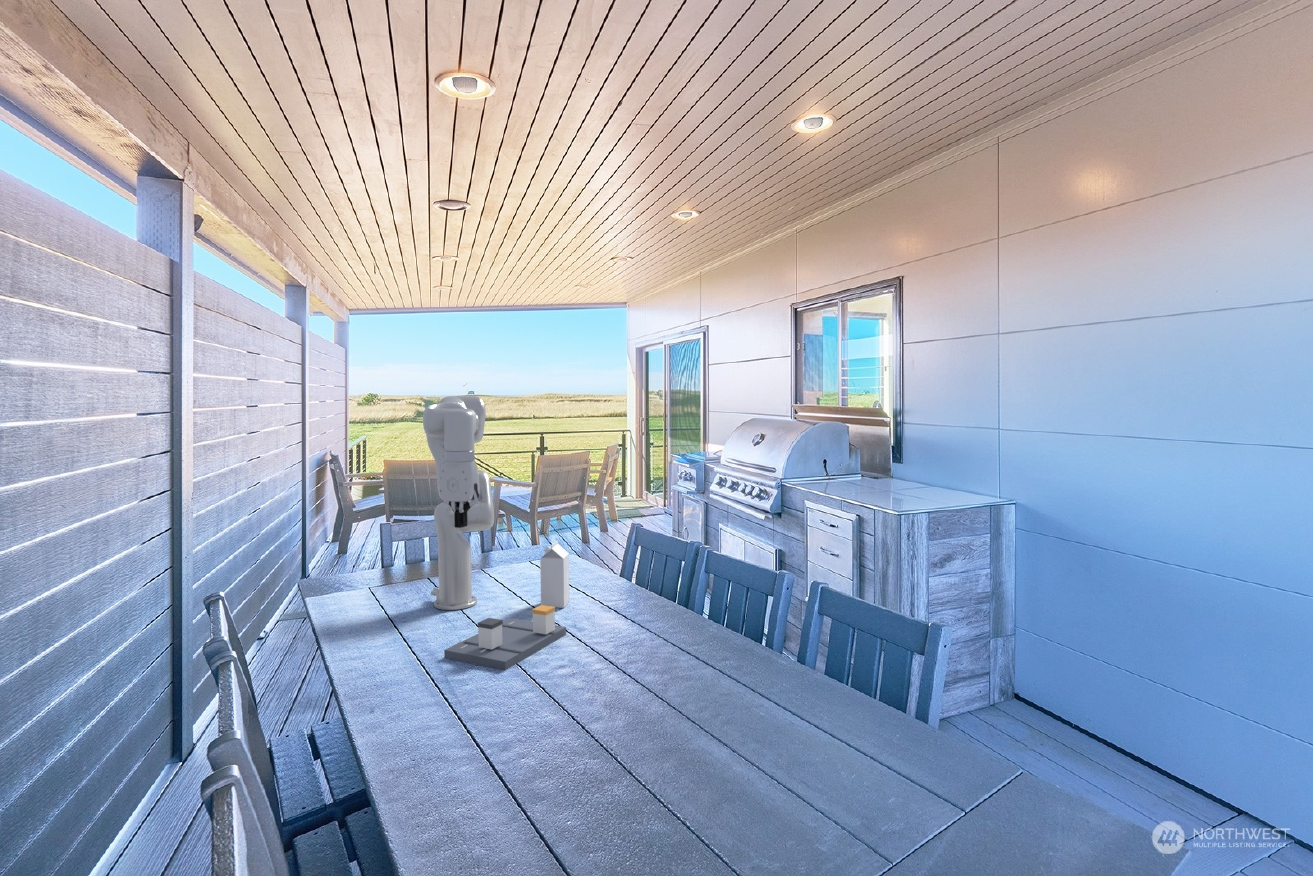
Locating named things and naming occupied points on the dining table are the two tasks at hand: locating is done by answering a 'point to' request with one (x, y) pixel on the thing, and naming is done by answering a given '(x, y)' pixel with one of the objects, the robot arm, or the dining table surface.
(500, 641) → the block
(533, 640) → the console
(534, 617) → the fader orange
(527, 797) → the dining table surface
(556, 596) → the milk carton
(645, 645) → the dining table surface
